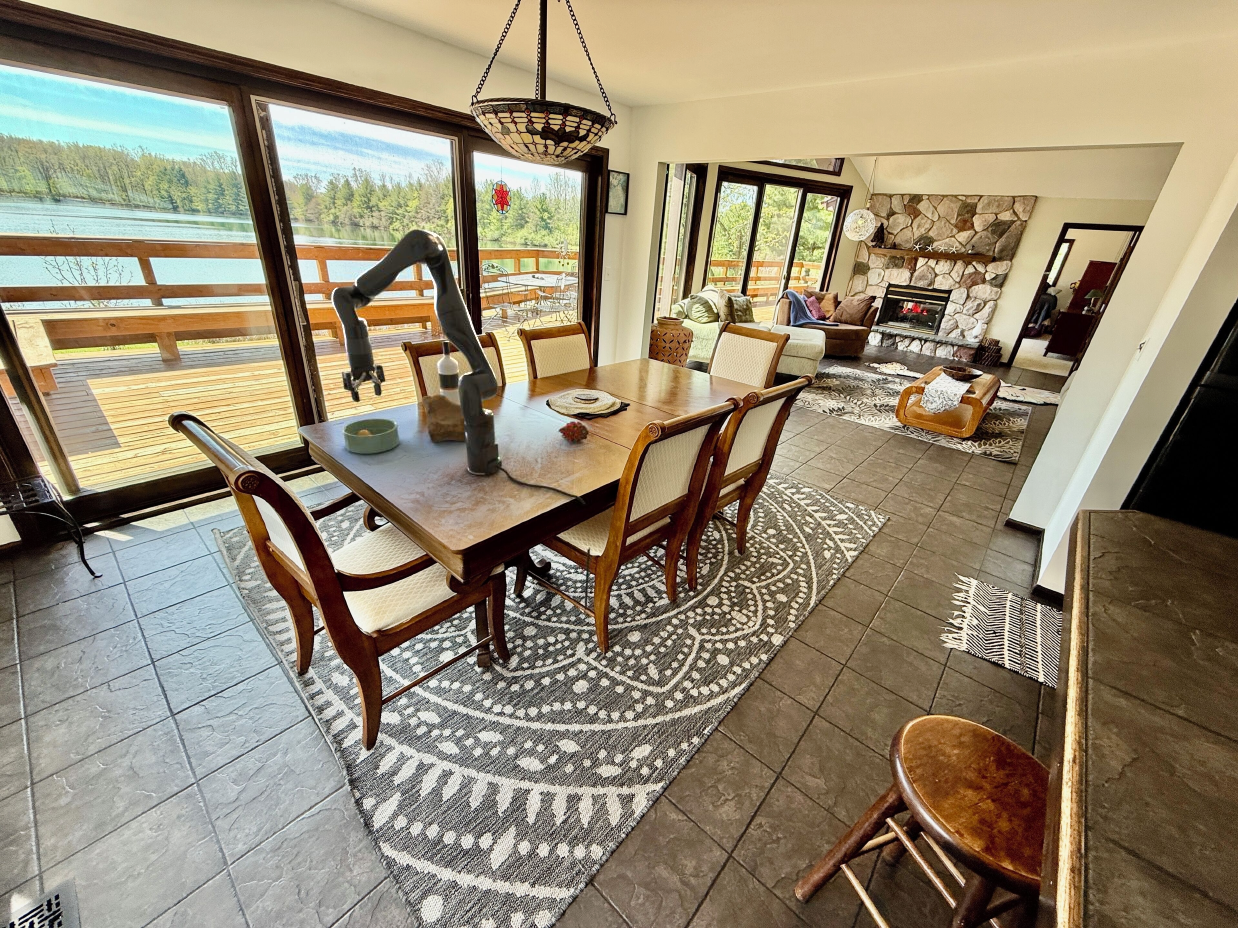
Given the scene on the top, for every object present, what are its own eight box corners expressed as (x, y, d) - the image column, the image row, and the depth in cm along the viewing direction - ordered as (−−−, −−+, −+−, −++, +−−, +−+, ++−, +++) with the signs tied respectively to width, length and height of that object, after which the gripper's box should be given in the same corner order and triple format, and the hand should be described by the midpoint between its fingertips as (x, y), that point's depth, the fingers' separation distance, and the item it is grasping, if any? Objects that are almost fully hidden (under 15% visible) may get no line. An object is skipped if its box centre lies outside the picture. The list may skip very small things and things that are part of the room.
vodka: (446, 415, 203) (439, 344, 190) (437, 409, 209) (429, 340, 196) (466, 411, 209) (461, 342, 196) (457, 405, 215) (451, 338, 202)
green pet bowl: (410, 442, 177) (407, 424, 174) (370, 459, 162) (366, 440, 159) (376, 432, 183) (373, 415, 180) (335, 447, 169) (331, 429, 165)
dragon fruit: (589, 447, 186) (560, 447, 189) (592, 429, 190) (563, 429, 193) (584, 435, 179) (554, 436, 182) (587, 416, 183) (557, 417, 186)
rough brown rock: (407, 443, 178) (401, 406, 170) (432, 424, 192) (428, 389, 184) (464, 454, 174) (460, 417, 166) (486, 434, 188) (483, 399, 180)
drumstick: (390, 442, 171) (387, 429, 169) (380, 446, 167) (376, 433, 165) (367, 439, 176) (363, 427, 174) (356, 443, 172) (352, 431, 170)
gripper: (348, 356, 150) (357, 406, 157) (385, 348, 162) (392, 395, 168) (331, 353, 152) (341, 402, 159) (369, 346, 164) (377, 391, 171)
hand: (367, 398), depth 164 cm, fingers open, 8 cm apart
